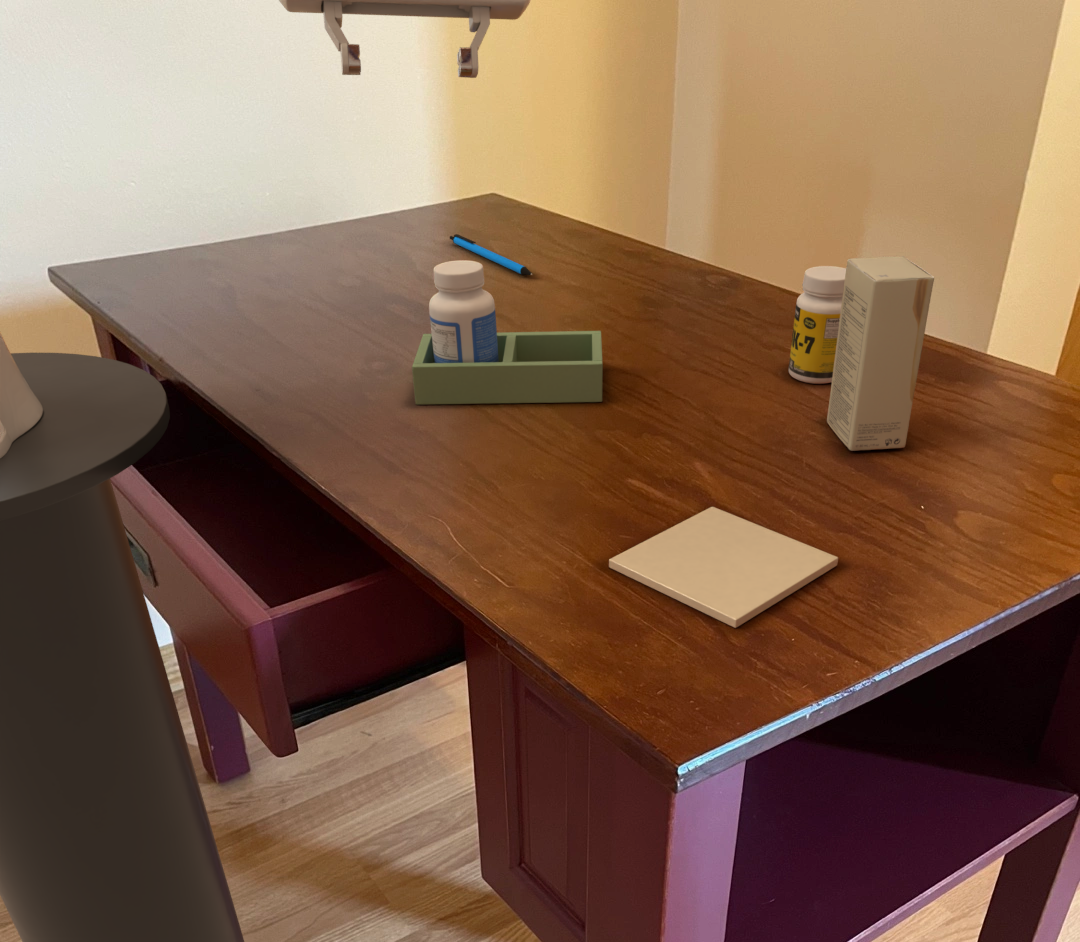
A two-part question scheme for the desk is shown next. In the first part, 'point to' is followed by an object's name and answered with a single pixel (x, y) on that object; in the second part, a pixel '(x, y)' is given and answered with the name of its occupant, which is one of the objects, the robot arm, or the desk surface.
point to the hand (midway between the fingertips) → (410, 74)
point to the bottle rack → (516, 371)
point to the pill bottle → (462, 315)
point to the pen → (489, 254)
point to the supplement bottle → (817, 325)
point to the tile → (723, 565)
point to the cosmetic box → (878, 351)
